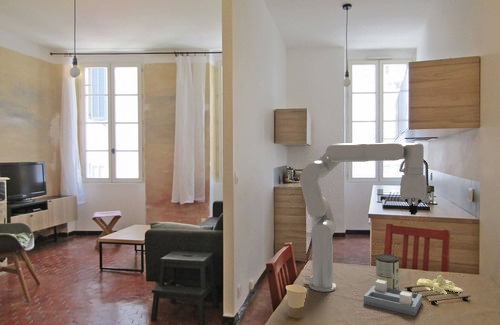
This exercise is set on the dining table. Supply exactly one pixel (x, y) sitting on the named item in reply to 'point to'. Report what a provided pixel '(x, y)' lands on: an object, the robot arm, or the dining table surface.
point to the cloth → (439, 285)
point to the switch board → (392, 300)
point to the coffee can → (388, 270)
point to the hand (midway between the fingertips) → (413, 214)
